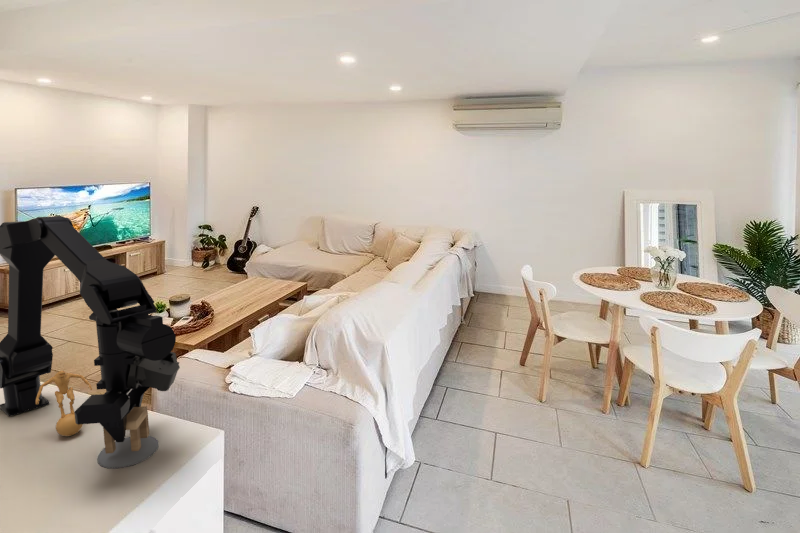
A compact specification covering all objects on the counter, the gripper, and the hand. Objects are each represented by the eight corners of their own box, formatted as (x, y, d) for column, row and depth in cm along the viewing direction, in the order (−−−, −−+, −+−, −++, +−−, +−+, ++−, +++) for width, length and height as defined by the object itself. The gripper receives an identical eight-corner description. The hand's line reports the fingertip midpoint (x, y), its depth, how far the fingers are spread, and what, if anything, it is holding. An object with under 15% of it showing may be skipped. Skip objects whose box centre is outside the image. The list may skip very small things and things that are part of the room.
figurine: (43, 448, 74) (35, 384, 72) (38, 434, 78) (30, 373, 76) (100, 429, 80) (94, 370, 78) (92, 417, 84) (86, 361, 82)
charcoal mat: (88, 455, 73) (87, 453, 73) (142, 431, 80) (142, 429, 80) (112, 475, 68) (112, 473, 68) (168, 448, 76) (168, 446, 75)
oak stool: (105, 453, 71) (102, 423, 70) (118, 436, 76) (116, 408, 75) (138, 450, 72) (136, 421, 71) (149, 434, 77) (147, 406, 76)
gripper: (152, 368, 63) (159, 462, 66) (187, 328, 81) (191, 403, 84) (67, 372, 61) (78, 469, 64) (123, 330, 79) (129, 407, 82)
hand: (127, 433), depth 74 cm, fingers closed on oak stool, 5 cm apart
